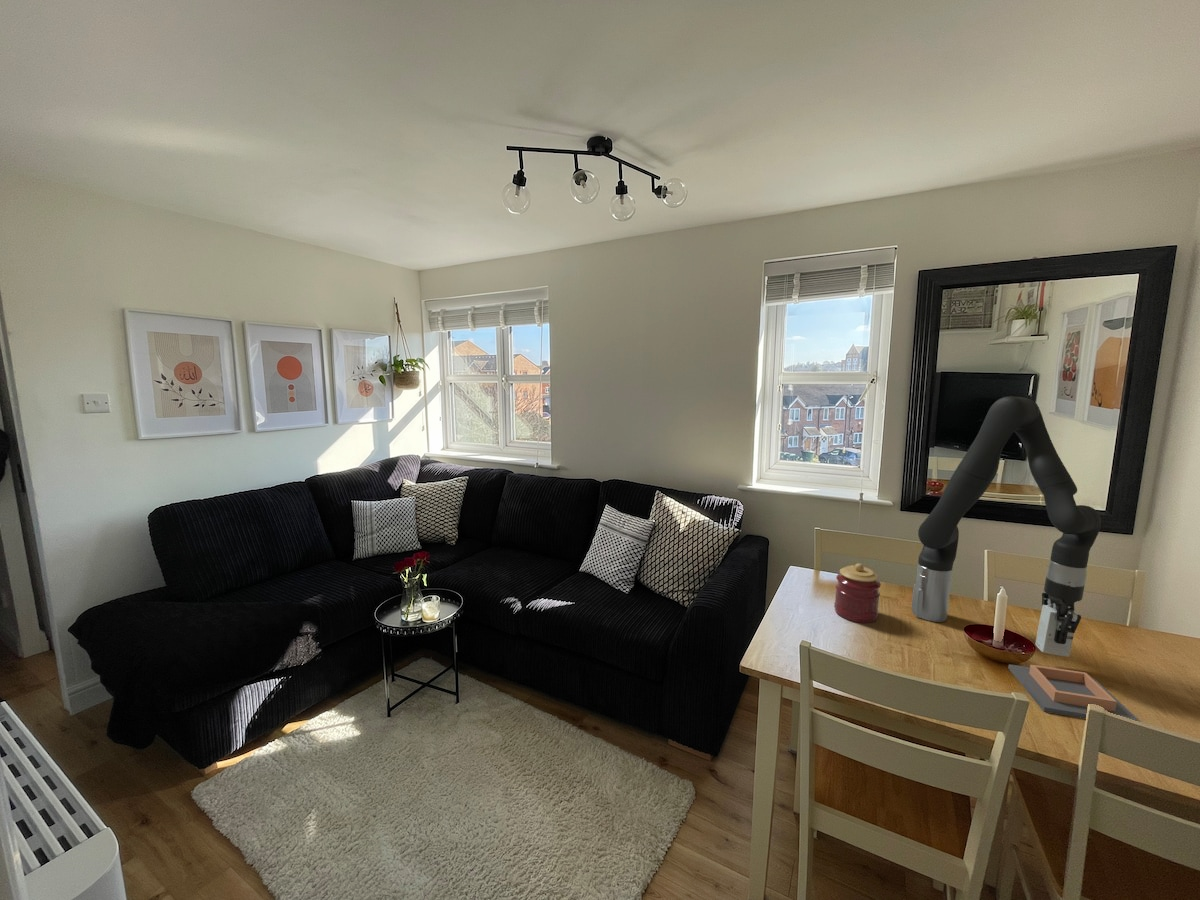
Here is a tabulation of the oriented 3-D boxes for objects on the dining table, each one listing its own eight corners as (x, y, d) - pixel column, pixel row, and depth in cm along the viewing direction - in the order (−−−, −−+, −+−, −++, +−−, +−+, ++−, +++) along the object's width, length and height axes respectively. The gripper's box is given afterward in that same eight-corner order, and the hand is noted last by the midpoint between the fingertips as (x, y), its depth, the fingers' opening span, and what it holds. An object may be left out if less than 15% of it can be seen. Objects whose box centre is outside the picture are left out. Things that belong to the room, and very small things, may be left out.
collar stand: (1043, 711, 116) (1045, 697, 115) (1008, 668, 133) (1009, 655, 132) (1141, 728, 110) (1144, 713, 110) (1091, 680, 127) (1093, 667, 127)
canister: (879, 610, 165) (883, 561, 162) (876, 627, 154) (881, 574, 151) (836, 601, 172) (840, 553, 169) (831, 617, 161) (835, 566, 158)
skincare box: (1042, 653, 132) (1050, 611, 130) (1034, 644, 137) (1041, 604, 134) (1071, 657, 130) (1079, 615, 128) (1061, 648, 135) (1069, 607, 132)
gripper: (1034, 566, 138) (1024, 623, 141) (1062, 588, 124) (1051, 650, 127) (1067, 570, 135) (1057, 627, 138) (1100, 592, 122) (1088, 655, 125)
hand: (1054, 638), depth 133 cm, fingers closed on skincare box, 4 cm apart
